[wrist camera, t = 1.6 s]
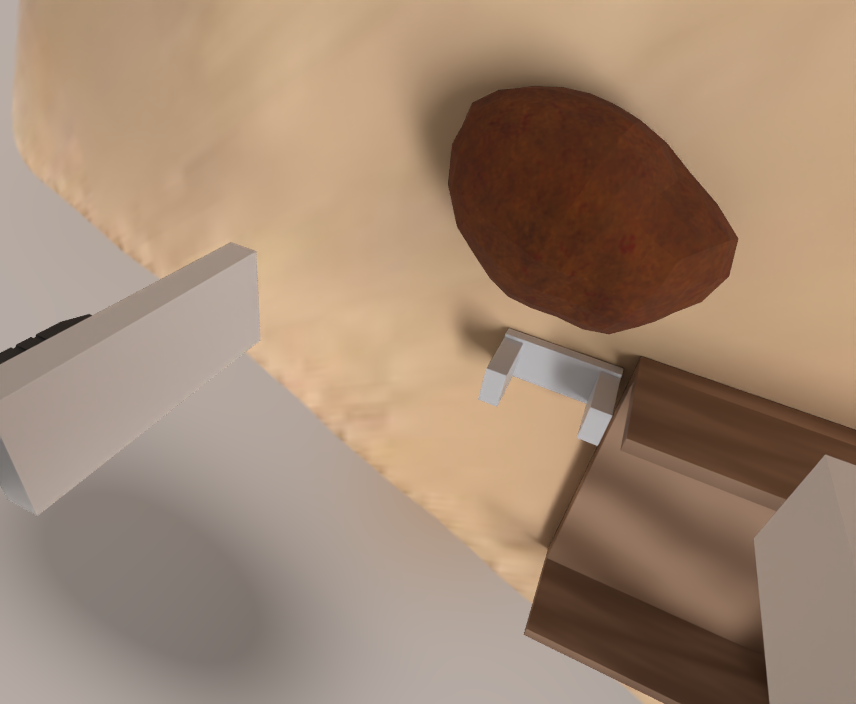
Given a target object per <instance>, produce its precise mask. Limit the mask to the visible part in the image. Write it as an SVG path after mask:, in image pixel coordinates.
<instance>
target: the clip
mask: <svg viewBox="0 0 856 704" xmlns="http://www.w3.org/2000/svg"><path fill="white" fill-rule="evenodd" d="M622 373H623V368H621V367H618V366H615V365H612V364H609V363H607V362H604V361H601V360H598V359H595V358H592V357H590V356H587V355H584V354H581V353H578V352H575V351H573V350H570V349H567V348H564V347H561V346H558V345H556V344H553V343H550V342H547V341H544V340H541V339H539V338H536V337H533V336H530V335H527V334H524V333H522V332H519V331H516V330H513V329H510V328H509V329H508V330H507V332H506V334H505V337H504V339H503V341H502V342H501V344H500V346H499V348H498V349H497V351H496V353H495V354H494V356H493V358H492V360H491V361H490V363H489V365H488V367H487V369H486V372H485V376H484V380H483V383H482V387H481V391H480V395H479V398H478V399H479V400H481V401H484V402H486V403H489V404H491V405H494V406H498V404H499V402H500V400H501V398H502V396H503V394H504V392H505V390H506V388H507V386H508V384H509V382H510V380H511V378H512V376H514V377H517V378H519V379H522V380H525V381H527V382H530V383H533V384H535V385H538V386H541V387H543V388H546V389H549V390H551V391H554V392H557V393H559V394H562V395H565V396H567V397H570V398H573V399H575V400H578V401H581V402H583V403H586V408H585V411H584V415H583V418H582V422H581V425H580V429H579V432H578V436H577V438H578V439H581V440H583V441H586V442H589V443H591V444H594V445H596V446H598V444H599V442H600V440H601V438H602V436H603V434H604V432H605V430H606V428H607V426H608V424H609V421H610V419H611V417H612V415H613V410H614V406H615V401H616V397H617V392H618V388H619V383H620V379H621V377H622Z"/></svg>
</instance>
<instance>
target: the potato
mask: <svg viewBox="0 0 856 704" xmlns="http://www.w3.org/2000/svg"><path fill="white" fill-rule="evenodd" d="M448 186H449V191H450V196H451V200H452V205H453V210H454V215H455V219H456V224H457V227H458V229H459V230H460V232H461V234H462V235H463V237H464V239H465V240H466V242H467V243H468V245H469V247H470V248H471V250H472V252H473V253H474V255H475V256H476V258H477V259H478V261H479V262H480V264H481V265H482V267H483V268H484V270H485V271H486V273H487V275H488V276H489V278H490V279H491V280H492V281H493V282H494V283H495V284H496V285H497V286H498V287H499V288H500V289H501V290H502V291H503V292H504V293H505V294H506V295H507V296H508V297H510V298H512V299H514V300H516V301H518V302H520V303H522V304H524V305H526V306H528V307H530V308H533V309H536V310H539V311H541V312H544V313H547V314H550V315H553V316H556V317H559V318H561V319H563V320H565V321H567V322H569V323H571V324H573V325H575V326H577V327H579V328H581V329H584V330H590V331H595V332H600V333H606V334H612V333H616V332H619V331H623V330H627V329H631V328H635V327H639V326H642V325H645V324H648V323H652V322H655V321H657V320H659V319H661V318H664V317H666V316H668V315H670V314H672V313H674V312H677V311H679V310H682V309H685V308H687V307H690V306H692V305H695V304H697V303H700V302H702V301H703V300H704V299H705V298H706V297H707V296H708V295H709V294H710V293H712V292H713V291H714V290H715V289H716V288H717V287H718V286H719V285H720V284H721V283H722V282H723V281H724V280H725V279H727V278H728V277H729V274H730V270H731V266H732V262H733V258H734V254H735V250H736V246H737V242H738V237H737V236H736V234H735V232H734V231H733V229H732V227H731V226H730V224H729V222H728V221H727V219H726V218H725V216H724V214H723V213H722V211H721V209H720V208H719V206H718V204H717V203H716V202H715V201H714V200H713V199H712V197H711V196H710V195H709V194H708V193H707V192H706V190H705V189H704V188H703V187H702V186H701V185H700V183H699V182H698V181H697V180H696V179H695V178H694V176H693V175H692V174H691V173H690V172H689V171H688V169H687V168H686V167H685V165H684V164H683V163H682V162H681V160H680V159H679V158H678V157H677V155H676V154H675V153H674V151H673V150H672V149H671V148H670V146H669V145H668V144H667V143H666V142H665V141H664V140H663V139H662V138H660V137H659V136H658V135H657V134H656V133H655V132H654V131H652V130H651V129H650V128H649V127H648V126H647V125H646V124H644V123H643V122H642V121H641V120H639V119H638V118H636V117H635V116H633V115H631V114H630V113H628V112H627V111H625V110H623V109H622V108H620V107H618V106H617V105H615V104H613V103H611V102H608V101H606V100H604V99H601V98H599V97H597V96H595V95H592V94H590V93H585V92H581V91H577V90H572V89H568V88H564V87H542V86H531V87H523V88H515V89H505V90H498V91H496V92H494V93H492V94H489V95H487V96H485V97H483V98H481V99H479V100H477V101H475V102H473V103H472V105H471V107H470V109H469V112H468V114H467V116H466V119H465V121H464V123H463V126H462V128H461V129H460V131H459V133H458V135H457V136H456V138H455V140H454V142H453V143H452V151H451V161H450V170H449V180H448Z"/></svg>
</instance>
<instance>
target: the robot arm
mask: <svg viewBox="0 0 856 704" xmlns="http://www.w3.org/2000/svg"><path fill="white" fill-rule="evenodd" d="M259 341H260V320H259V298H258V277H257V255H256V251H254V250H251V249H249V248H246V247H243V246H240V245H237V244H235V243H232V242H230V243H228V244H227V245H225V246H223V247H221V248H219V249H217V250H215V251H213V252H211V253H210V254H208V255H206V256H204V257H202V258H200V259H198V260H196V261H194V262H193V263H191V264H189V265H187V266H185V267H183V268H181V269H179V270H177V271H176V272H174V273H172V274H170V275H168V276H166V277H164V278H162V279H160V280H159V281H157V282H155V283H153V284H151V285H149V286H148V287H146V288H143V289H142V290H140V291H138V292H136V293H134V294H132V295H131V296H128V297H126V298H125V299H123V300H121V301H119V302H117V303H115V304H113V305H111V306H109V307H108V308H106V309H104V310H102V311H100V312H98V313H96V314H94V315H90V314H88V315H84V316H80V317H77V318H73V319H70V320H66V321H62V322H60V323H58V324H56V325H54V326H52V327H50V328H48V329H46V330H44V331H42V332H40V333H38V334H36V337H35V338H32V337H30V338H28V339H26V340H25V341H22V342H21V343H19V344H17V345H16V347H15V348H14V349H13V348H9V349H7V350H5V351H3V352H1V353H0V486H1V488H2V490H3V492H4V494H5V496H6V498H7V499H8V500H9V501H11V502H13V503H15V504H17V505H18V506H20V507H22V508H24V509H26V510H27V511H29V512H31V513H33V514H35V515H36V516H37V515H39V514H40V513H42V512H43V511H44V510H45V509H47V508H48V507H49V506H50V505H52V504H53V503H54V502H56V501H57V500H58V499H59V498H60V497H62V496H63V495H64V494H66V493H67V492H68V491H70V490H71V489H72V488H73V487H75V486H76V485H77V484H78V483H80V482H81V481H82V480H84V479H85V478H86V477H87V476H89V475H90V474H91V473H92V472H94V471H95V470H96V469H97V468H99V467H100V466H101V465H103V464H104V463H105V462H106V461H108V460H109V459H110V458H111V457H113V456H114V455H115V454H117V453H118V452H119V451H120V450H122V449H123V448H124V447H125V446H127V445H128V444H129V443H131V442H132V441H133V440H134V439H136V438H137V437H138V436H139V435H141V434H142V433H143V432H144V431H146V430H147V429H148V428H149V427H151V426H152V425H153V424H155V423H156V422H157V421H158V420H160V419H161V418H162V417H164V416H165V415H166V414H167V413H168V412H170V411H171V410H172V409H174V408H175V407H176V406H178V405H179V404H180V403H181V402H183V401H184V400H185V399H186V398H188V397H189V396H190V395H191V394H193V393H194V392H195V391H197V390H198V389H199V388H200V387H201V386H203V385H204V384H205V383H207V382H208V381H209V380H211V379H212V378H213V377H214V376H216V375H217V374H218V373H219V372H221V371H222V370H223V369H225V368H226V367H227V366H228V365H230V364H231V363H232V362H233V361H235V360H236V359H237V358H238V357H240V356H241V355H242V354H244V353H245V352H246V351H247V350H249V349H250V348H251V347H252V346H254V345H255V344H256V343H258V342H259ZM754 546H755V556H756V567H757V577H758V588H759V598H760V609H761V619H762V630H763V640H764V651H765V661H766V672H767V682H768V693H769V703H770V704H856V465H853V464H850V463H848V462H845V461H842V460H839V459H836V458H834V457H831V456H828V455H824V457H823V458H822V459H821V460H820V461H819V462H818V464H817V465H816V466H815V467H814V468H813V469H812V471H811V472H810V473H809V474H808V475H807V477H806V478H805V479H804V480H803V481H802V482H801V484H800V485H799V486H798V487H797V488H796V489H795V491H794V492H793V493H792V494H791V495H790V496H789V498H788V499H787V500H786V501H785V502H784V504H783V505H782V506H781V507H780V508H779V509H778V511H777V512H776V513H775V514H774V515H773V516H772V518H771V519H770V520H769V521H768V522H767V523H766V525H765V526H764V527H763V528H762V529H761V530H760V532H759V533H758V534H757V535H756V536H755V538H754Z"/></svg>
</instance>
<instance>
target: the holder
mask: <svg viewBox="0 0 856 704" xmlns="http://www.w3.org/2000/svg"><path fill="white" fill-rule="evenodd" d="M824 455H828V456H831V457H834V458H836V459H839V460H842V461H845V462H848V463H850V464H853V465H856V430H853V429H850V428H848V427H845V426H842V425H839V424H836V423H833V422H830V421H827V420H824V419H822V418H819V417H816V416H813V415H810V414H807V413H804V412H801V411H798V410H795V409H793V408H790V407H787V406H784V405H781V404H778V403H775V402H772V401H769V400H767V399H764V398H761V397H758V396H755V395H752V394H749V393H746V392H743V391H740V390H738V389H735V388H732V387H729V386H726V385H723V384H720V383H717V382H714V381H712V380H709V379H706V378H703V377H700V376H697V375H694V374H691V373H688V372H686V371H683V370H680V369H677V368H674V367H671V366H668V365H665V364H662V363H659V362H657V361H654V360H651V359H648V358H645V357H642V356H641V358H640V360H639V362H638V364H637V366H636V368H635V370H634V372H633V375H632V377H631V379H630V381H629V383H628V385H627V387H626V389H625V391H624V393H623V395H622V397H621V399H620V401H619V403H618V406H617V408H616V410H615V412H614V414H613V416H612V418H611V420H610V422H609V424H608V426H607V428H606V430H605V432H604V434H603V437H602V439H601V441H600V443H599V445H598V447H597V449H596V451H595V453H594V455H593V457H592V459H591V461H590V463H589V465H588V468H587V470H586V472H585V474H584V476H583V478H582V480H581V482H580V484H579V486H578V488H577V490H576V492H575V494H574V496H573V499H572V501H571V503H570V505H569V507H568V509H567V511H566V513H565V515H564V517H563V519H562V521H561V523H560V525H559V527H558V530H557V532H556V534H555V536H554V538H553V540H552V542H551V544H550V546H549V548H548V551H547V554H546V558H545V561H544V565H543V568H542V572H541V576H540V579H539V583H538V586H537V590H536V593H535V597H534V600H533V604H532V607H531V611H530V614H529V618H528V622H527V625H526V628H525V632H524V635H526V636H528V637H530V638H532V639H534V640H536V641H538V642H540V643H542V644H544V645H546V646H548V647H550V648H552V649H554V650H557V651H558V652H560V653H563V654H564V655H567V656H569V657H571V658H573V659H575V660H577V661H579V662H581V663H583V664H585V665H587V666H589V667H591V668H593V669H595V670H597V671H599V672H601V673H603V674H605V675H607V676H609V677H611V678H613V679H615V680H617V681H619V682H621V683H624V684H626V685H628V686H630V687H632V688H634V689H636V690H638V691H640V692H642V693H644V694H646V695H648V696H650V697H652V698H654V699H656V700H658V701H660V702H662V703H664V704H770V703H769V693H768V682H767V672H766V661H765V651H764V640H763V630H762V619H761V609H760V598H759V588H758V577H757V567H756V556H755V546H754V538H755V536H756V535H757V534H758V533H759V532H760V530H761V529H762V528H763V527H764V526H765V525H766V523H767V522H768V521H769V520H770V519H771V518H772V516H773V515H774V514H775V513H776V512H777V511H778V509H779V508H780V507H781V506H782V505H783V504H784V502H785V501H786V500H787V499H788V498H789V496H790V495H791V494H792V493H793V492H794V491H795V489H796V488H797V487H798V486H799V485H800V484H801V482H802V481H803V480H804V479H805V478H806V477H807V475H808V474H809V473H810V472H811V471H812V469H813V468H814V467H815V466H816V465H817V464H818V462H819V461H820V460H821V459H822V458H823V457H824Z"/></svg>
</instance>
